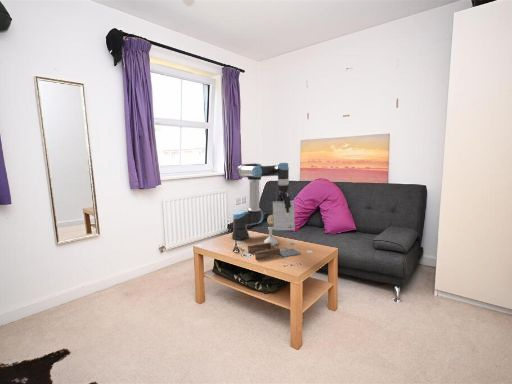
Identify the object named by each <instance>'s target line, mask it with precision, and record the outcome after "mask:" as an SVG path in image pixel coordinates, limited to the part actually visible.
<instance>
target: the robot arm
mask: <svg viewBox="0 0 512 384" xmlns="http://www.w3.org/2000/svg"><path fill="white" fill-rule="evenodd" d="M289 168H290V167H289V163H288V162H278V163H277V165H276V164H274V165H262V164H261V163H242V164H240V165H239V166H237V168H236V173H237V176H239V177H241V178H247V181H248V182H249V191H248V192H249V196H248V197H249V200H248V201H249V202H248V205H249V207H248V208H247V211H246V210H245V209H244V210H237V211H234V213H233V214H232V221H233V223H232V224H233V230H232V233H231V239H233V240H236V241H242V240H243V241H245V240H248V239H250V234H249V231H248V228H247V227H248V226H251V225H257V224H258V225H259V224H260V223H262V222H263V220H264V213H263V210H262V209H261V208H260V181H261V180H262V177H277V184H278V185H277V190H278V191H277V200H276V201H284V203H285V217H289V208H290V207H291V205H290V201H291V200H290V199H291V198H290V193H288V191H290V186H289V184H290V183H289V179H290V177H289V171H290V169H289ZM235 236H236V237H235Z"/></svg>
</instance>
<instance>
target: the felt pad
mask: <svg viewBox="0 0 512 384" xmlns="http://www.w3.org/2000/svg"><path fill="white" fill-rule="evenodd" d="M301 254H302V253H301V252H300V251H297V250H296V249H295V248H288V249H287V248H286V249H280V256H281V257H283V258H286V257H292V256H293V257H294V256H298V255H301Z"/></svg>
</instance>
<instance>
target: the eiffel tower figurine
mask: <svg viewBox="0 0 512 384" xmlns="http://www.w3.org/2000/svg"><path fill="white" fill-rule="evenodd" d="M235 237H236V236H235ZM234 240H235V239H234ZM235 250H236V251H238V252H237V253H239V252H240V251H242V253H243V252H246V249H244V248H242V247H239V246H238V244H237V240H235V243H234V248H233V249H232V253H233V252H234V251H235ZM234 253H235V252H234Z"/></svg>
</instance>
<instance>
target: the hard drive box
mask: <svg viewBox="0 0 512 384" xmlns="http://www.w3.org/2000/svg"><path fill="white" fill-rule="evenodd" d="M290 205H291V207H290V208H289V217H285V203H284V200H283V201H277V200H276V201H274V200H273V201H272V215H273V224H272V225H273V226H272V227H273V230H272V231H295V230H296V222H295V219H296V215H295V214H296V213H295V211H296V210H295V201H294V200H290Z"/></svg>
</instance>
